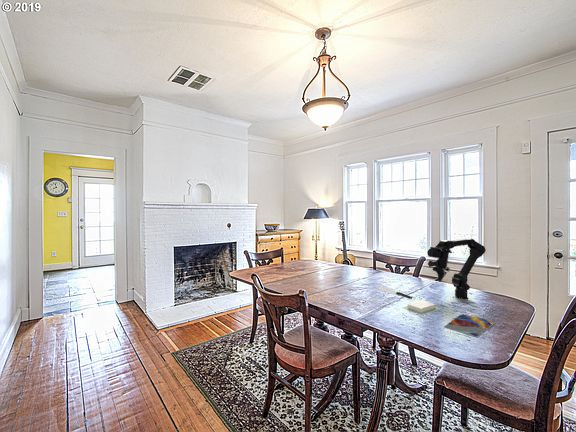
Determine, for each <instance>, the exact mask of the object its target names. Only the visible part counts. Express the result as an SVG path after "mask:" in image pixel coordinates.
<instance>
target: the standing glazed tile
mask: <svg viewBox="0 0 576 432" xmlns="http://www.w3.org/2000/svg"><path fill="white" fill-rule="evenodd" d="M407 306H408V308H409V309H411V310H414V311H417V312H420V313H422V312H425V311H428V310H432V309H435V308H436V306H437V305H436V303H432V302H430V301H425V300H424V299H421V300H417V301H414V302H411V303H407Z"/></svg>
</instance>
